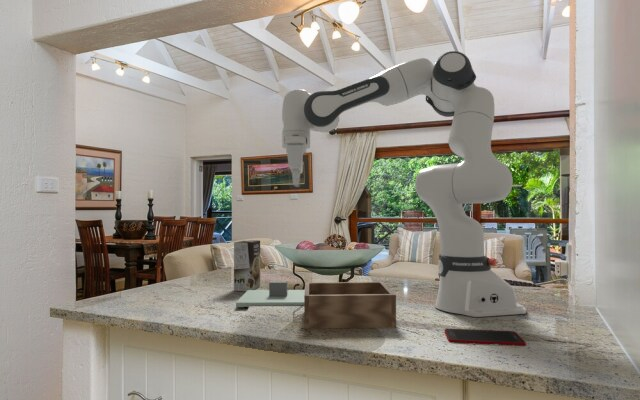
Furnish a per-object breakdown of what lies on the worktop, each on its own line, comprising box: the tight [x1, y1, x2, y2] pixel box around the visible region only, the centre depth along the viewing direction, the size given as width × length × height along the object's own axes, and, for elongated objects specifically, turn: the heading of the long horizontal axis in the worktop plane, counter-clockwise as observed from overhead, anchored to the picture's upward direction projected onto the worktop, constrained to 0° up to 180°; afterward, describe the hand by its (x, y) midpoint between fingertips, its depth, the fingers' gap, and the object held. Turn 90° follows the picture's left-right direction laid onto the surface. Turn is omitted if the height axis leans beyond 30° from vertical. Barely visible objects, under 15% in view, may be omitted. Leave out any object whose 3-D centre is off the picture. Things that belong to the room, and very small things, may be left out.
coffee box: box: [233, 239, 261, 292], centre depth 139 cm, size 9×6×16 cm
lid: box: [235, 280, 305, 308], centre depth 119 cm, size 21×17×6 cm
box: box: [303, 281, 397, 329], centre depth 98 cm, size 20×16×8 cm
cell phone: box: [444, 328, 527, 347], centre depth 85 cm, size 8×15×1 cm, turn 81°
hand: (296, 185), depth 130 cm, fingers open, 8 cm apart
